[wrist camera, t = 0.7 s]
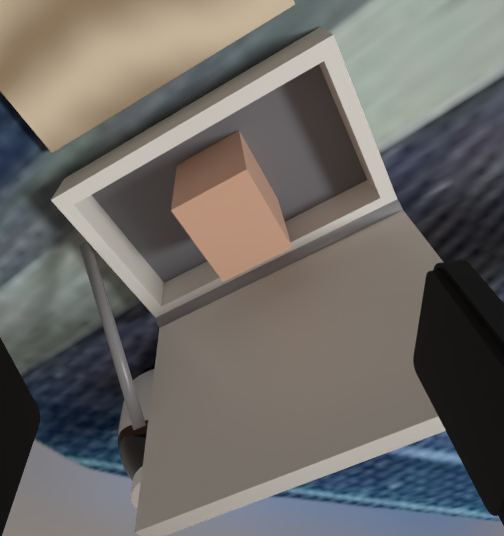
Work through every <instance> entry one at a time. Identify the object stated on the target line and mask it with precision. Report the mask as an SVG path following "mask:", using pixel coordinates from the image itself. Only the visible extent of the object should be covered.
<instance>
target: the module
mask: <svg viewBox="0 0 504 536" xmlns="http://www.w3.org/2000/svg"><path fill="white" fill-rule="evenodd" d="M171 211H172V213H173V214H174V215H175V217H176V218H177V220H178V221H179V222H180V224H181V225H182V226H183V228H184V229H185V231H186V232H187V233H188V235H189V236H190V237H191V239H192V240H193V241H194V243H195V244H196V246H197V247H198V248H199V250H200V251H201V252H202V254H203V255H204V257H205V258H206V259H207V261H208V262H209V263H210V265H211V266H212V268H213V269H214V270H215V272H216V273H217V274H218V276H219V277H220V279H221V280H222V281H223V282H225V281H227V280H229V279H231V278H233V277H235V276H237V275H239V274H241V273H243V272H245V271H247V270H249V269H251V268H253V267H255V266H257V265H259V264H261V263H263V262H265V261H267V260H269V259H271V258H273V257H275V256H277V255H279V254H281V253H283V252H285V251H288V250H290V249H292V245H291V242H290V238H289V235H288V232H287V228H286V225H285V222H284V218H283V215H282V211H281V208H280V205H279V201H278V199H277V197H276V195H275V193H274V191H273V190H272V188H271V186H270V184H269V183H268V181H267V179H266V177H265V175H264V174H263V172H262V170H261V168H260V167H259V165H258V163H257V161H256V159H255V158H254V156H253V154H252V152H251V150H250V149H249V147H248V145H247V143H246V142H245V140H244V138H243V136H242V134H241V133H240V131H239V130H238V131H236V132H235V133H233V134H231V135H229V136H227V137H226V138H224V139H222V140H220V141H219V142H217V143H215V144H213V145H212V146H210V147H208V148H206V149H204V150H203V151H201V152H199V153H197V154H196V155H194V156H192V157H190V158H189V159H187V160H185V161H183V162H181V163H180V164H178V165H177V168H176V176H175V183H174V191H173V198H172V206H171Z"/></svg>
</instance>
